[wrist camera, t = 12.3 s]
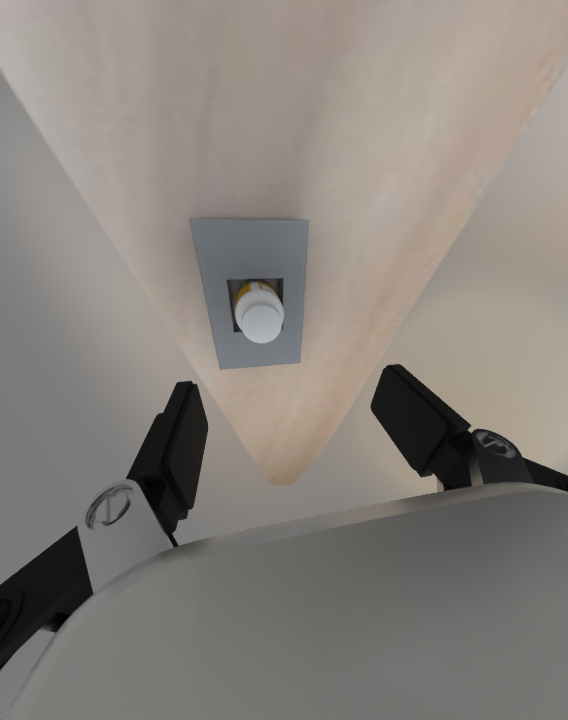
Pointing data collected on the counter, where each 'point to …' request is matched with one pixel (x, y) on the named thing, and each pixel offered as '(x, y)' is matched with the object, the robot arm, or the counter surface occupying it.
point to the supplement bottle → (259, 311)
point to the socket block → (252, 261)
